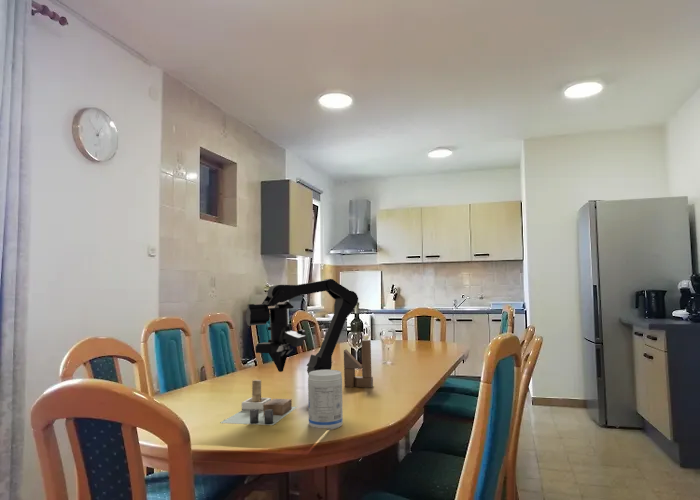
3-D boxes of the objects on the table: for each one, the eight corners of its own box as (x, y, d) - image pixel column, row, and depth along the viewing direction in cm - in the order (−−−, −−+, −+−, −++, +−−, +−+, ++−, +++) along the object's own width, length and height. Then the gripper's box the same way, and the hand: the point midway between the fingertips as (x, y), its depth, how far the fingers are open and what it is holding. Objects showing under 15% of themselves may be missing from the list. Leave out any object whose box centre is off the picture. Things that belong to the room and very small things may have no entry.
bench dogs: (274, 422, 134) (274, 409, 134) (271, 424, 132) (271, 411, 132) (252, 421, 135) (252, 408, 136) (248, 423, 133) (248, 410, 133)
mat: (297, 409, 151) (297, 406, 151) (272, 427, 131) (272, 424, 131) (251, 407, 155) (251, 405, 155) (219, 425, 134) (219, 422, 135)
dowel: (262, 405, 152) (262, 379, 153) (259, 407, 149) (259, 381, 150) (254, 405, 152) (254, 379, 153) (250, 407, 150) (250, 381, 150)
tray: (271, 405, 153) (271, 397, 154) (262, 411, 147) (262, 403, 147) (251, 405, 155) (251, 397, 155) (241, 410, 148) (241, 402, 148)
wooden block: (346, 385, 189) (345, 339, 190) (373, 386, 186) (371, 339, 188) (344, 387, 185) (343, 340, 187) (371, 387, 183) (369, 340, 184)
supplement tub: (309, 421, 137) (309, 369, 138) (342, 420, 137) (341, 368, 138) (307, 431, 127) (306, 375, 128) (343, 430, 127) (341, 374, 128)
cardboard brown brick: (291, 408, 149) (291, 399, 149) (282, 415, 141) (282, 405, 141) (273, 408, 150) (273, 398, 150) (263, 414, 142) (263, 404, 143)
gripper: (282, 325, 143) (284, 378, 142) (315, 320, 160) (317, 367, 159) (253, 326, 148) (255, 376, 147) (287, 320, 165) (289, 366, 164)
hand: (280, 371), depth 154 cm, fingers closed
